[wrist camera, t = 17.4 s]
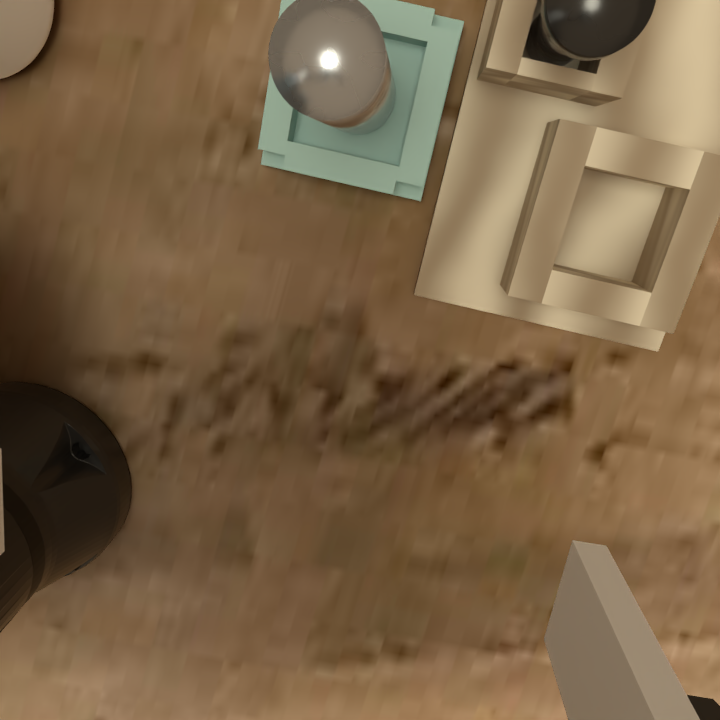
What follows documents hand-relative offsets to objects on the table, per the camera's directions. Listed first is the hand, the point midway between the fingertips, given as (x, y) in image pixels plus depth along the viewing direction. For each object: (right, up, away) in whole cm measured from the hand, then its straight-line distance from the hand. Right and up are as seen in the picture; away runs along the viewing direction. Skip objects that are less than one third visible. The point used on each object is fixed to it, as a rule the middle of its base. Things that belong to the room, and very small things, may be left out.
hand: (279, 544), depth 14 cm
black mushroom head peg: (+13, +22, +20) cm, 32 cm away
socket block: (+16, +16, +24) cm, 33 cm away
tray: (+2, +20, +24) cm, 31 cm away
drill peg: (+2, +20, +22) cm, 30 cm away
